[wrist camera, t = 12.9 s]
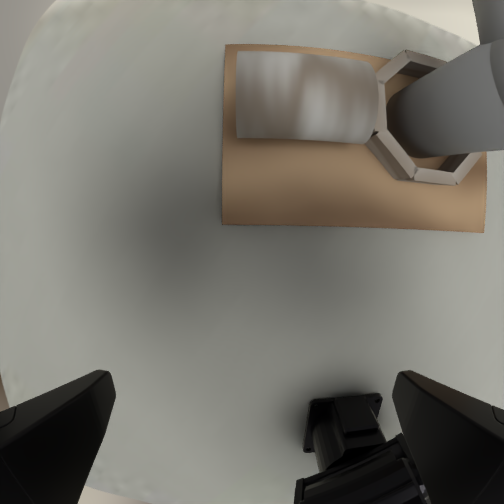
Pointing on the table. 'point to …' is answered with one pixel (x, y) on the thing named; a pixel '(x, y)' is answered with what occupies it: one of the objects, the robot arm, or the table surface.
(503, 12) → the elbow
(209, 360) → the table surface
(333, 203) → the board
